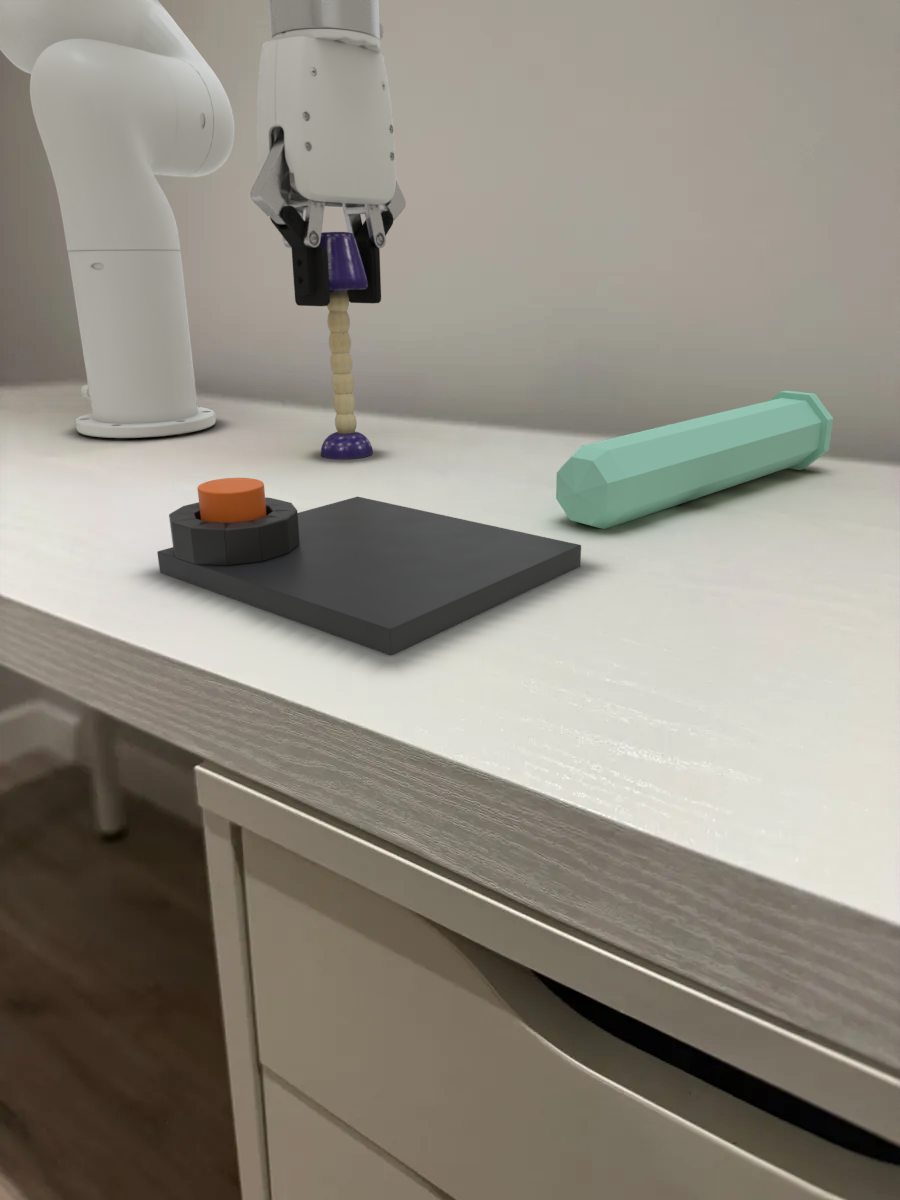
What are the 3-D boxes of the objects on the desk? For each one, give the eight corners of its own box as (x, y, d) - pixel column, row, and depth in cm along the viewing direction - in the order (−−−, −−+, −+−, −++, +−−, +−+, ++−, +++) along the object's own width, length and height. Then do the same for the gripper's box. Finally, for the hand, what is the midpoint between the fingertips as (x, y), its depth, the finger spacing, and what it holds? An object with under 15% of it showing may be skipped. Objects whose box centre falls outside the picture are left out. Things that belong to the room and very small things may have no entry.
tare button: (188, 520, 44) (183, 486, 43) (240, 507, 46) (237, 474, 45) (227, 531, 42) (224, 496, 41) (279, 517, 44) (277, 483, 44)
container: (600, 428, 47) (823, 378, 63) (525, 454, 52) (750, 402, 67) (628, 534, 48) (843, 458, 63) (552, 551, 52) (769, 477, 68)
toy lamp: (305, 454, 72) (290, 232, 66) (349, 446, 75) (338, 233, 69) (344, 462, 69) (331, 230, 63) (387, 453, 72) (380, 231, 66)
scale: (152, 571, 45) (144, 514, 43) (352, 513, 55) (349, 465, 54) (390, 657, 35) (387, 586, 34) (580, 567, 45) (583, 510, 44)
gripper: (372, 54, 69) (380, 299, 76) (188, 12, 57) (217, 307, 64) (445, 39, 65) (447, 301, 71) (262, -10, 53) (285, 310, 59)
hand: (339, 301), depth 67 cm, fingers closed on toy lamp, 4 cm apart
